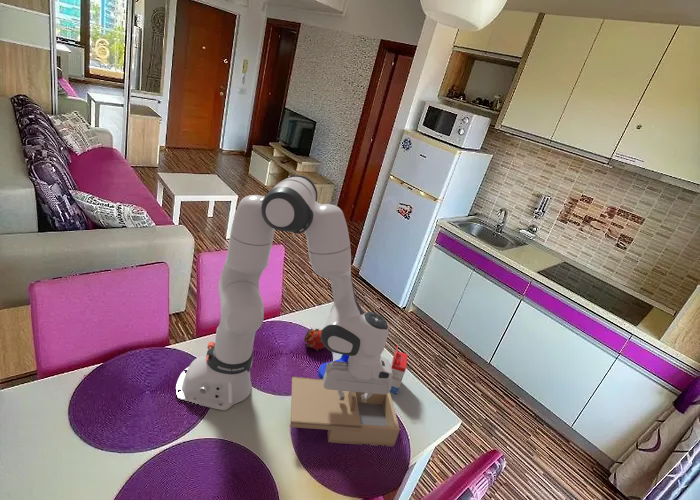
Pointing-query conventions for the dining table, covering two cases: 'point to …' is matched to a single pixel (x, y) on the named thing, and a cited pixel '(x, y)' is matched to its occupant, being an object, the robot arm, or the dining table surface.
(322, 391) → the lid
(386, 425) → the mailer box
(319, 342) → the dragon fruit
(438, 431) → the dining table surface
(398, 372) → the ink box
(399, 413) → the dining table surface
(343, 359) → the bracket
